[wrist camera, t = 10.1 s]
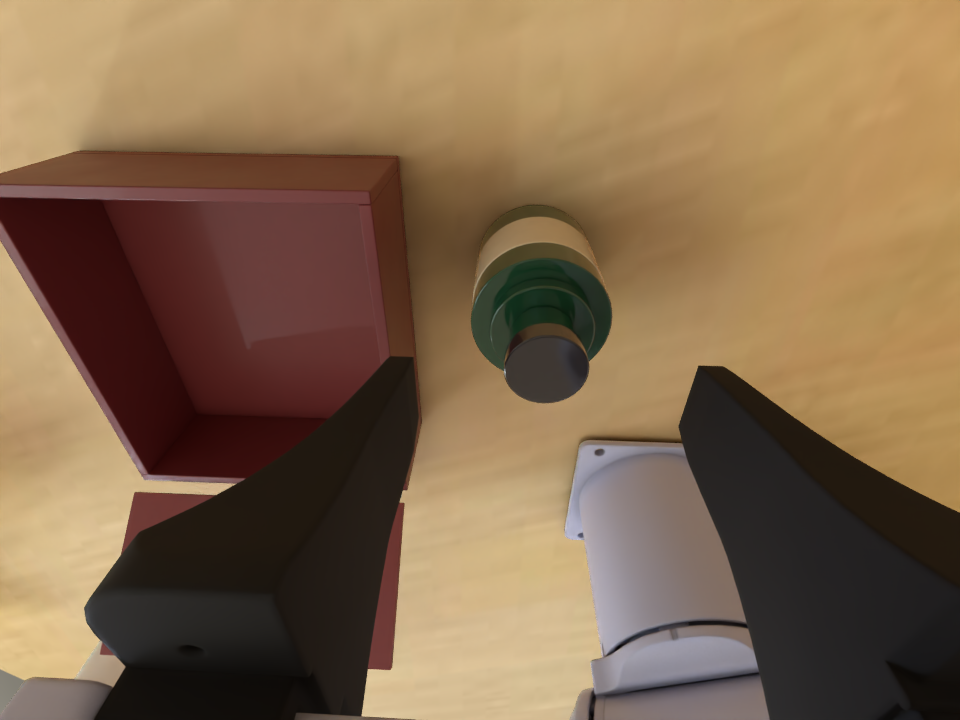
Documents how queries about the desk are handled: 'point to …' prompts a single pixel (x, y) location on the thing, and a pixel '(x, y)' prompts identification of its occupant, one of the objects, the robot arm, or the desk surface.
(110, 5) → the desk surface
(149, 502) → the flap
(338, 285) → the carton
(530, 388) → the bottle
